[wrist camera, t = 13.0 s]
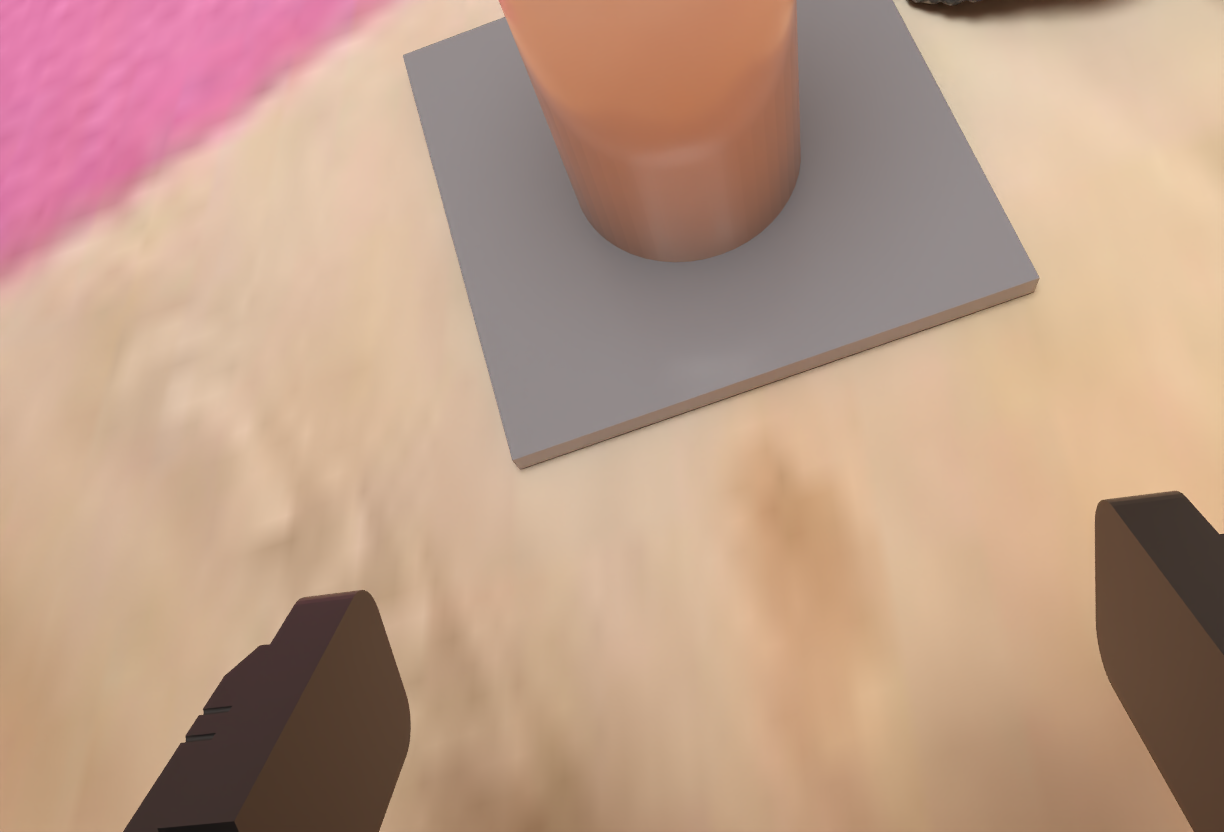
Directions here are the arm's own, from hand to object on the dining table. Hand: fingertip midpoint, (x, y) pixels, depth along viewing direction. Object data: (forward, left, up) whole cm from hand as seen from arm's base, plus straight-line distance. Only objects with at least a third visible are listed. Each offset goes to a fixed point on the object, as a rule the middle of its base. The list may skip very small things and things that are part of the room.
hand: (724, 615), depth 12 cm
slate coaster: (+2, +11, -8) cm, 14 cm away
